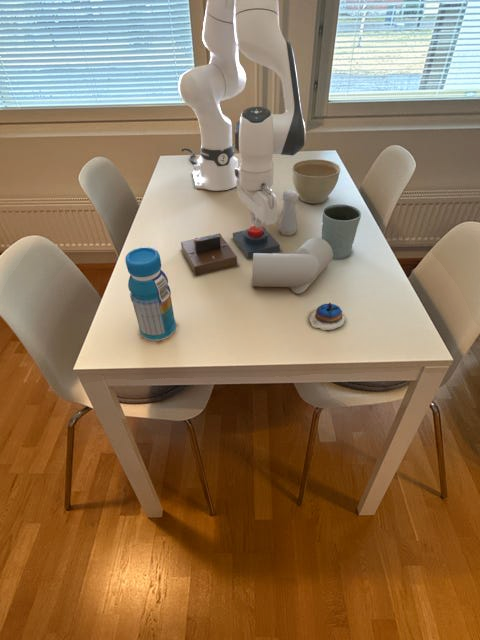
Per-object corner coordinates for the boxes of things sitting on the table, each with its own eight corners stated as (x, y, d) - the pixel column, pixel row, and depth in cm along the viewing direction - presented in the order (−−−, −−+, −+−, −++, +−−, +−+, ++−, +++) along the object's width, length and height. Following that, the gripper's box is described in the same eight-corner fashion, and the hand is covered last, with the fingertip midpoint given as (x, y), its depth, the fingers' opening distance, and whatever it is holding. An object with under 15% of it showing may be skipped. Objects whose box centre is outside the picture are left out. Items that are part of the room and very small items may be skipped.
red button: (246, 232, 117) (246, 227, 116) (259, 229, 118) (259, 224, 117) (252, 239, 114) (252, 233, 113) (264, 236, 115) (264, 230, 114)
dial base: (181, 250, 117) (180, 241, 115) (220, 242, 120) (219, 232, 118) (195, 276, 107) (194, 266, 105) (237, 266, 111) (236, 256, 108)
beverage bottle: (144, 347, 88) (124, 271, 74) (136, 323, 94) (116, 250, 80) (181, 335, 90) (168, 260, 77) (171, 313, 96) (157, 240, 83)
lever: (218, 244, 113) (217, 232, 111) (220, 247, 112) (219, 235, 110) (195, 250, 112) (193, 238, 109) (196, 253, 110) (195, 241, 108)
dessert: (341, 305, 95) (345, 299, 90) (344, 332, 94) (347, 327, 88) (307, 307, 96) (309, 301, 90) (309, 334, 95) (311, 329, 89)
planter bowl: (336, 189, 146) (340, 159, 139) (336, 209, 134) (340, 177, 127) (292, 187, 148) (293, 157, 141) (288, 207, 136) (290, 175, 129)
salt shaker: (295, 237, 121) (299, 197, 112) (277, 236, 122) (278, 195, 113) (297, 228, 125) (301, 188, 117) (279, 227, 126) (281, 187, 118)
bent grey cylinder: (304, 308, 94) (339, 267, 106) (298, 269, 88) (336, 230, 100) (243, 297, 104) (281, 261, 116) (234, 261, 98) (276, 227, 111)
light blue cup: (314, 256, 113) (319, 217, 105) (321, 239, 120) (326, 201, 112) (351, 262, 110) (358, 223, 102) (356, 244, 117) (363, 206, 109)
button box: (232, 239, 121) (232, 227, 119) (262, 232, 124) (263, 220, 121) (247, 259, 113) (247, 246, 110) (279, 251, 116) (280, 239, 113)
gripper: (285, 190, 98) (282, 239, 108) (252, 163, 113) (252, 208, 122) (261, 195, 97) (261, 244, 106) (231, 166, 111) (233, 212, 120)
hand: (256, 225), depth 114 cm, fingers closed
